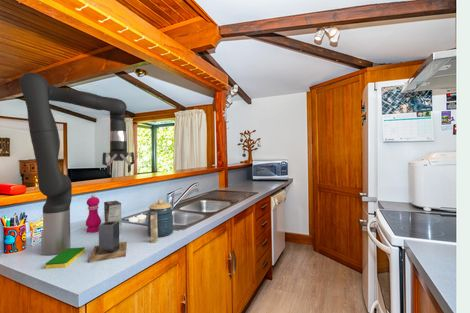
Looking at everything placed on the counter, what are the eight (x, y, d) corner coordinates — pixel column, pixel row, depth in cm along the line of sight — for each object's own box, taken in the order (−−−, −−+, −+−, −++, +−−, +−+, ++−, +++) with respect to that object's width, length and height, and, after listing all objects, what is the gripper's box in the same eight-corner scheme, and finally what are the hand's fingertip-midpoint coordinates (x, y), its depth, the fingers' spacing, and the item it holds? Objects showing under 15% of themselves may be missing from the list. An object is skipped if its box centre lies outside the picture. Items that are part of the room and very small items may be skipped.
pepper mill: (83, 231, 123) (82, 194, 123) (97, 227, 129) (96, 192, 129) (89, 233, 119) (88, 195, 119) (103, 230, 125) (103, 193, 125)
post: (151, 242, 105) (150, 213, 105) (152, 240, 107) (152, 211, 107) (156, 242, 105) (155, 213, 105) (157, 240, 108) (157, 211, 107)
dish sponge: (44, 270, 82) (44, 263, 82) (66, 253, 95) (66, 248, 95) (66, 268, 83) (66, 261, 83) (85, 252, 97) (85, 246, 97)
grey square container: (99, 255, 91) (98, 225, 91) (107, 248, 98) (106, 220, 98) (113, 254, 92) (113, 225, 92) (120, 247, 99) (120, 220, 98)
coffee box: (104, 231, 122) (103, 201, 122) (117, 229, 126) (116, 200, 126) (108, 236, 115) (107, 204, 115) (122, 233, 119) (121, 202, 119)
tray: (89, 262, 86) (89, 257, 86) (94, 250, 98) (94, 246, 98) (125, 256, 91) (125, 251, 91) (126, 245, 103) (126, 241, 103)
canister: (157, 239, 109) (156, 203, 109) (142, 234, 117) (141, 200, 117) (178, 232, 119) (178, 198, 119) (163, 227, 127) (163, 196, 127)
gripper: (134, 141, 119) (134, 172, 119) (103, 141, 113) (103, 173, 113) (134, 140, 112) (134, 173, 112) (101, 140, 106) (101, 174, 106)
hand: (119, 173), depth 113 cm, fingers open, 8 cm apart
